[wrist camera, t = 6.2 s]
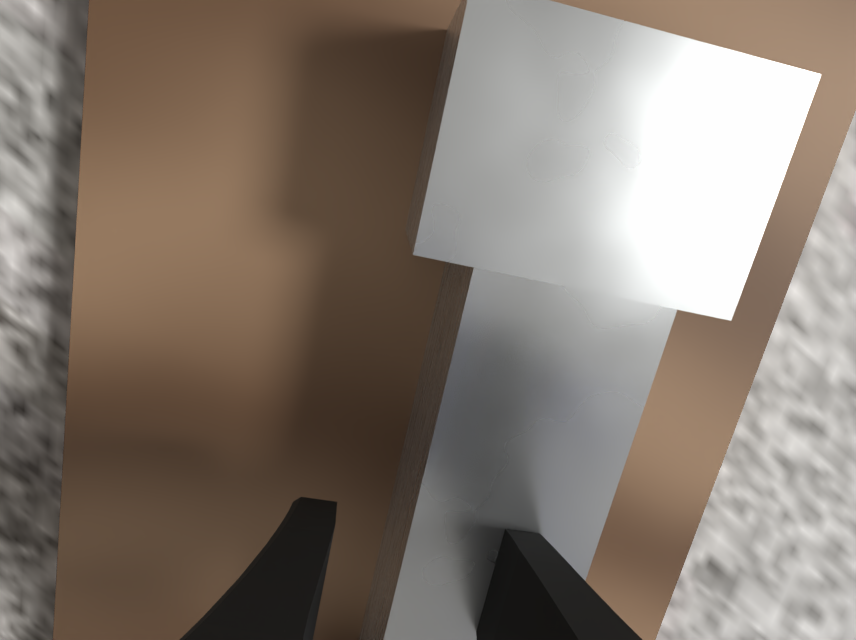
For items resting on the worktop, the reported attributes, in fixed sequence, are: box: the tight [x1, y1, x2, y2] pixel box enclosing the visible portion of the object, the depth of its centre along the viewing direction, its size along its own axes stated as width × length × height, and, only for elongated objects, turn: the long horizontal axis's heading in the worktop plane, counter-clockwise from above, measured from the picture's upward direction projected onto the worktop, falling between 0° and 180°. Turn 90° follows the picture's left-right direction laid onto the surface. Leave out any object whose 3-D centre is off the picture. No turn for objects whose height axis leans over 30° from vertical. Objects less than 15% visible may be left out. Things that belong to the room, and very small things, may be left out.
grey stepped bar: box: [359, 0, 821, 640], centre depth 11 cm, size 17×5×3 cm, turn 168°
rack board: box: [53, 0, 856, 640], centre depth 12 cm, size 26×14×4 cm, turn 168°
